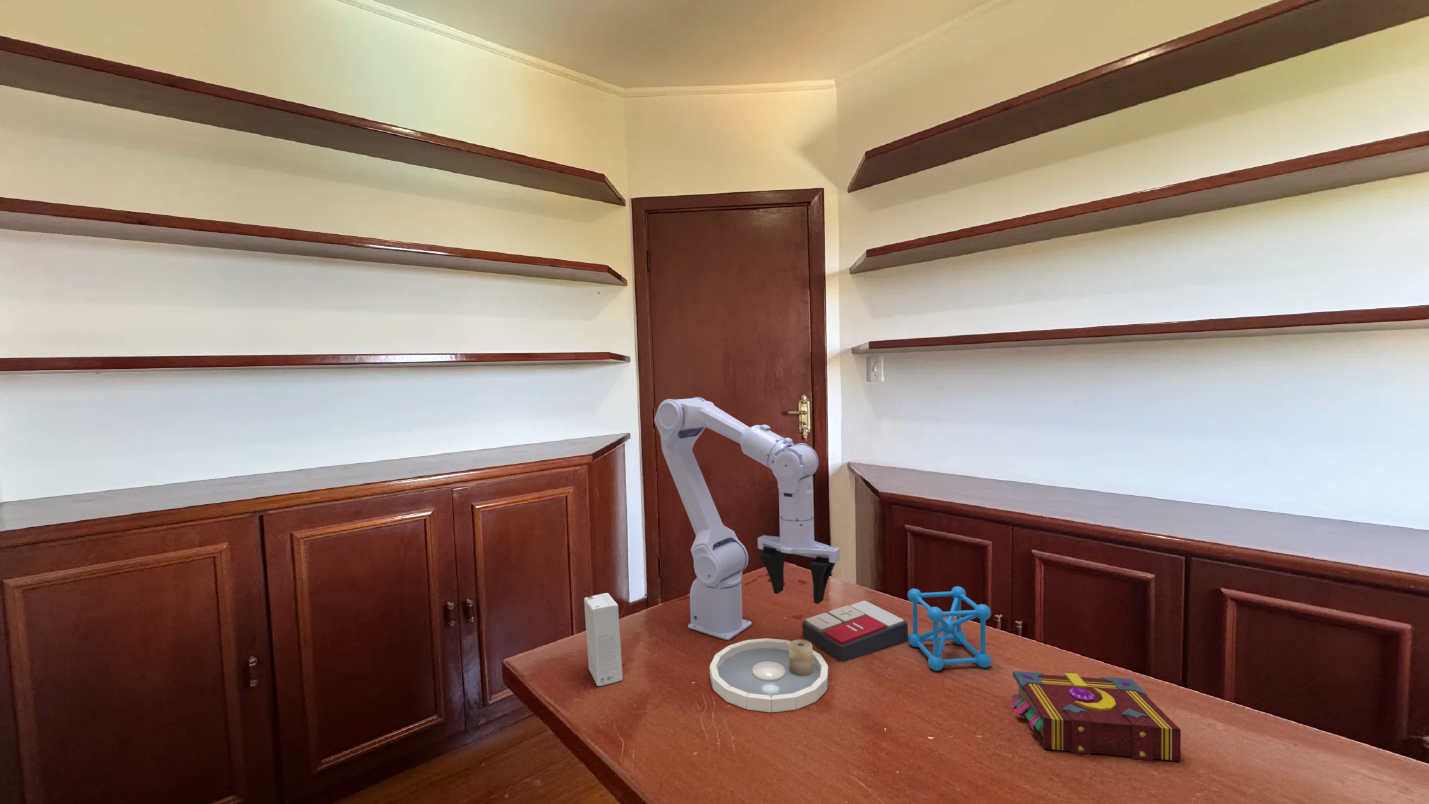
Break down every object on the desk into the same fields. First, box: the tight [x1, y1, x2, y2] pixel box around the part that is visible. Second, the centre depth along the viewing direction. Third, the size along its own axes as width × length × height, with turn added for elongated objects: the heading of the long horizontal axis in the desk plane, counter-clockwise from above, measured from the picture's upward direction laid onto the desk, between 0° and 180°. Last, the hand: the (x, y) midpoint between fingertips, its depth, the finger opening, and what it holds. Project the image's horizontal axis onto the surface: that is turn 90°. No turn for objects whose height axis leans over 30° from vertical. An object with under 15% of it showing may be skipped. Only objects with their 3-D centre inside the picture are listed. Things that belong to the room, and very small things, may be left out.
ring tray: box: [709, 637, 829, 713], centre depth 87 cm, size 18×18×2 cm
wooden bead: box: [789, 639, 814, 676], centre depth 88 cm, size 4×4×4 cm
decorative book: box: [1009, 670, 1182, 763], centre depth 72 cm, size 11×16×5 cm
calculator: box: [801, 600, 909, 663], centre depth 99 cm, size 11×4×15 cm
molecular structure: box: [907, 585, 992, 672], centre depth 92 cm, size 10×10×10 cm
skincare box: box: [583, 592, 624, 687], centre depth 89 cm, size 6×4×12 cm
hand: (798, 596), depth 95 cm, fingers open, 7 cm apart
